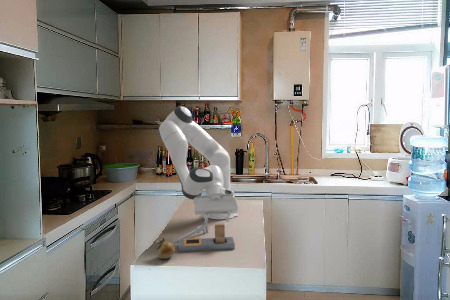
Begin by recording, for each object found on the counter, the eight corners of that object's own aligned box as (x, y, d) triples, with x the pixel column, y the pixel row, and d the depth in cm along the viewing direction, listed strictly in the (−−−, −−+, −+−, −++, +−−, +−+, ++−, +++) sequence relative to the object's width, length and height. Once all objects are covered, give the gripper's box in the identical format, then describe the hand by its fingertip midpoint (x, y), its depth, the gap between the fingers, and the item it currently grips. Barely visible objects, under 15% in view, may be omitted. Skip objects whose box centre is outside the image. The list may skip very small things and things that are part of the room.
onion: (156, 262, 149) (155, 242, 149) (156, 255, 157) (155, 236, 157) (175, 261, 151) (175, 241, 150) (174, 254, 159) (174, 235, 158)
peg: (215, 245, 169) (214, 223, 168) (224, 244, 169) (223, 222, 168) (215, 248, 165) (215, 225, 164) (224, 247, 165) (224, 225, 164)
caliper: (206, 232, 189) (206, 220, 188) (208, 233, 188) (208, 220, 187) (174, 243, 174) (174, 229, 173) (176, 243, 173) (176, 230, 172)
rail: (179, 245, 170) (179, 238, 170) (232, 242, 172) (232, 236, 172) (178, 251, 161) (178, 245, 161) (234, 249, 163) (234, 242, 163)
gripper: (193, 192, 176) (193, 218, 167) (237, 191, 178) (239, 216, 169) (193, 200, 181) (194, 225, 172) (236, 198, 183) (238, 224, 174)
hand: (217, 221), depth 170 cm, fingers open, 8 cm apart
